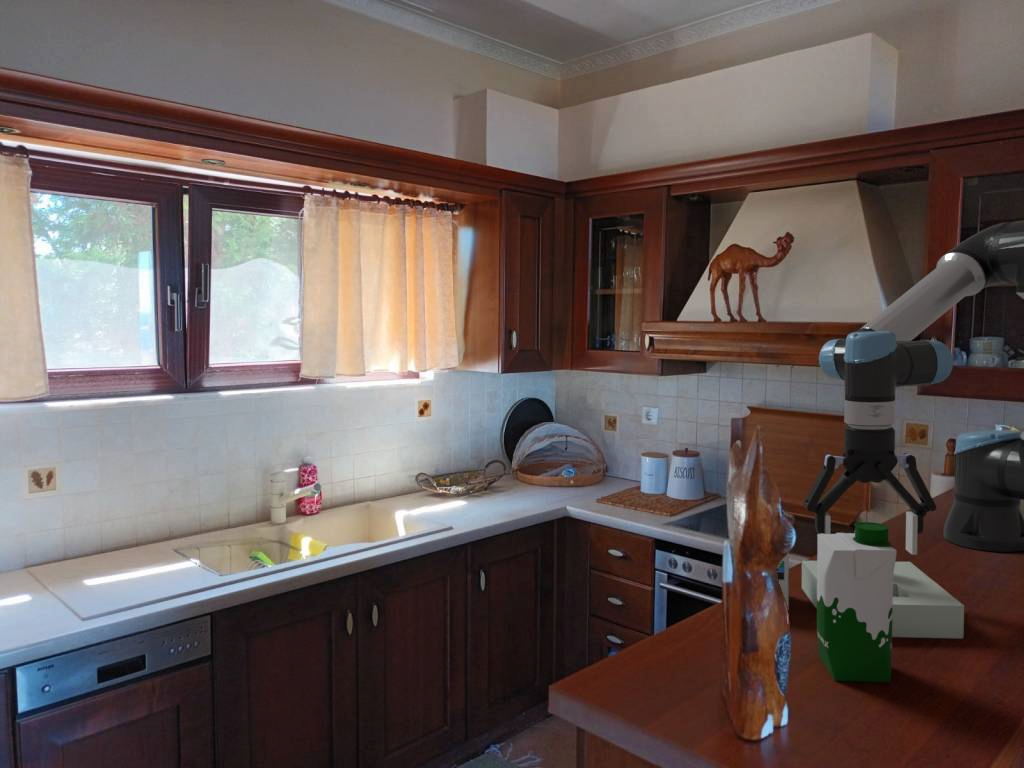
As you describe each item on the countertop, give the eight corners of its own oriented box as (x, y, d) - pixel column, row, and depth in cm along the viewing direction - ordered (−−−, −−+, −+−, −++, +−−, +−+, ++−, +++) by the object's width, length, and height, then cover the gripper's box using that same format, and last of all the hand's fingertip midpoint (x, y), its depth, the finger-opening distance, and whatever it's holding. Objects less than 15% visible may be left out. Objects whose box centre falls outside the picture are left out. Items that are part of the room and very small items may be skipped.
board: (909, 589, 132) (909, 561, 131) (963, 638, 112) (964, 605, 111) (801, 588, 134) (801, 560, 133) (836, 635, 114) (836, 603, 114)
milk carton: (900, 686, 98) (903, 535, 97) (828, 684, 99) (830, 535, 98) (875, 655, 107) (877, 517, 105) (809, 654, 108) (810, 517, 106)
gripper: (796, 430, 122) (796, 558, 124) (961, 428, 119) (958, 559, 121) (785, 423, 129) (785, 544, 131) (940, 421, 126) (937, 545, 128)
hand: (868, 552), depth 126 cm, fingers open, 13 cm apart
